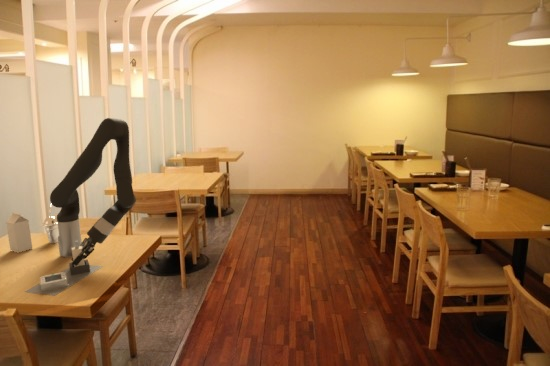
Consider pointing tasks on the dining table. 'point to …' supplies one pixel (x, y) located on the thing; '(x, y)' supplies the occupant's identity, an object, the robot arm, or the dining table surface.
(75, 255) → the plug
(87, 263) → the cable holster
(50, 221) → the cup with straw
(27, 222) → the milk carton
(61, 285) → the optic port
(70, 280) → the port board
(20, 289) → the dining table surface
